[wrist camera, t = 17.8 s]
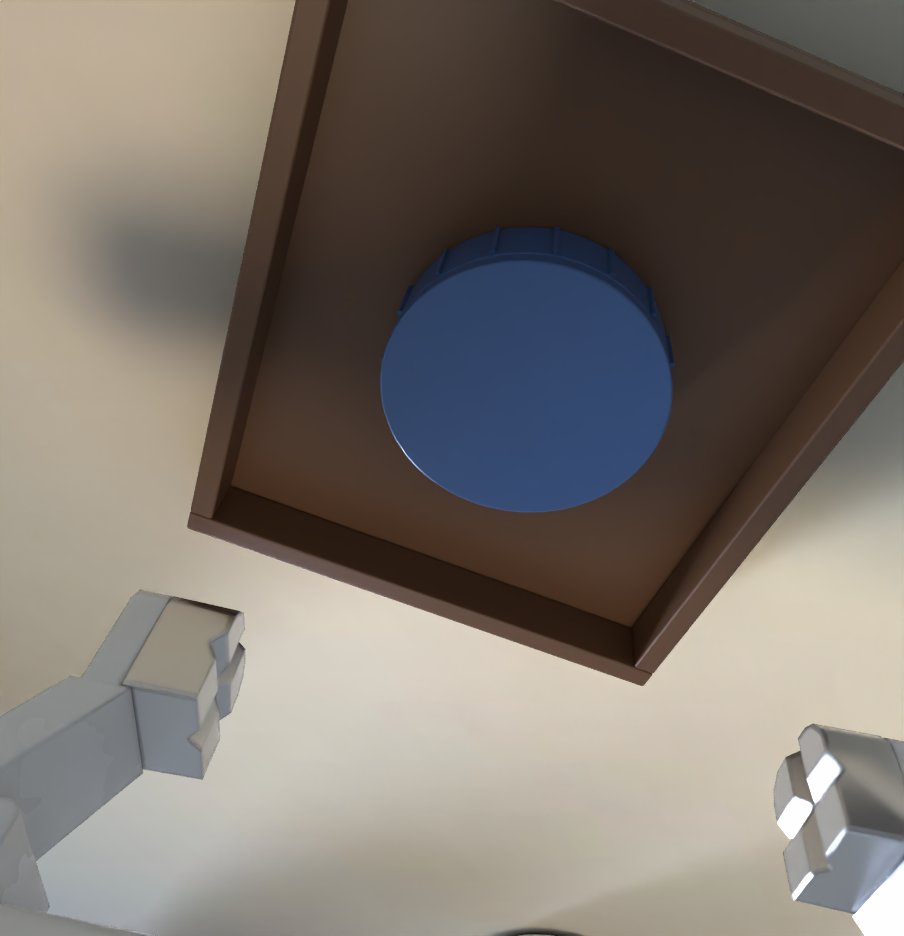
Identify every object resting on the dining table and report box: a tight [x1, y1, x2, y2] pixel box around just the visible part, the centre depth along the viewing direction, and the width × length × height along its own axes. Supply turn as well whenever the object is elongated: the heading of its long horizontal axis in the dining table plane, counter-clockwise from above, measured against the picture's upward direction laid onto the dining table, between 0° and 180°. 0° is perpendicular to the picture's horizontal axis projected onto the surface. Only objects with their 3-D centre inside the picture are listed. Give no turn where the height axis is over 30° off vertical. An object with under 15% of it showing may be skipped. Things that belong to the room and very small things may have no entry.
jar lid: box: [380, 226, 675, 512], centre depth 19 cm, size 6×6×2 cm
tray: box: [187, 0, 904, 686], centre depth 19 cm, size 15×13×2 cm
